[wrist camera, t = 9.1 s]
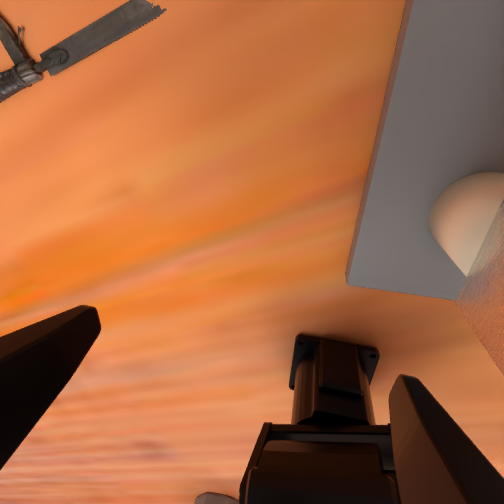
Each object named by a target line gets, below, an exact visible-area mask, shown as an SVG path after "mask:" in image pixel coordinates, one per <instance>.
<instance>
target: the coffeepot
mask: <svg viewBox="0 0 504 504" xmlns="http://www.w3.org/2000/svg"><path fill="white" fill-rule="evenodd" d="M195 504H239V501H238V500H236V499H233V498H231V497H229V496H226V495H222V494H218V493H204V494H201V495H200V496H199V497H198V498H197V499H195Z"/></svg>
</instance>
